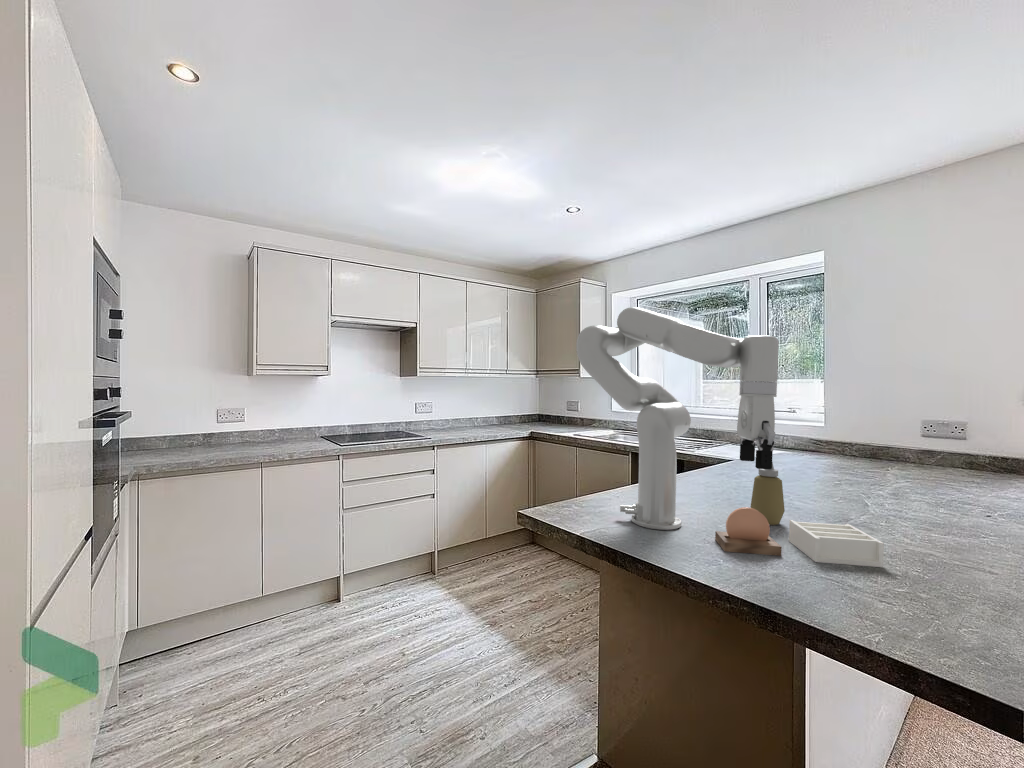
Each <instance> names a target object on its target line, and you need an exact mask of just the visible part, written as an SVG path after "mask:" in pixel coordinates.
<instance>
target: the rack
mask: <svg viewBox="0 0 1024 768" xmlns="http://www.w3.org/2000/svg"><path fill="white" fill-rule="evenodd" d="M788 525H789V528H788V529H789V530H788V531H789V532H788V533H789V534H788V541H789V542H790V543H791V544H792V545H793V546H795V547H796V548H798V550H800V551H801V552H802V553H803V554H805V555H806V556H807V557H808V558H810V559H811V560H812V561H813V562H814V563H824V564H838V565H847V566H849V565H851V566H862V567H872V568H873V567H875V568H884V556H885V555H884V550H885V547H884V546H885V543H884V542H882V541H880V540H879V539H877V538H876V537H873V536H872V535H870V534H868V533H866V532H864V531H863V530H860V529H859V528H857V527H856V526H854V525H851V524H850V523H845V524H837V523H836V524H835V523H823V522H820V523H819V522H809V521H808V522H805V521H795V520H792V519H789V524H788Z"/></svg>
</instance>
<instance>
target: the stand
mask: <svg viewBox="0 0 1024 768" xmlns="http://www.w3.org/2000/svg"><path fill="white" fill-rule="evenodd" d="M714 531H715V533H714V539H715V541H716V543H717V544H718V545H719V546H720V547H721V549H722V550H723V551H724V552H729V553H740V554H753V555H754V554H755V555H768V556H779V557H782V549H783V548H782V545H781V544H779V543H778V542H777V541H776V540H774V538H772V537H771V536H770V535H769V536H768V538H767V540H766V541H757V540H743V539H731V538H730V537H729V536H728V534H727V531H721V530H720V531H717V530H714Z"/></svg>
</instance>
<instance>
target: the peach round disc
mask: <svg viewBox="0 0 1024 768" xmlns="http://www.w3.org/2000/svg"><path fill="white" fill-rule="evenodd" d="M725 521H726V522H725V530H726V531H725V532H727V534H728V536H729V537H730V538H731V539H743V540H757V541H766V540H767V538H768V536H770V531H771V529H770V528H771V527H770V526H771V525H769V523H768V520H767V519H766V517H765V516H764V515H763V514H762V513H760V512H759V511H757V510H756V509H753V508H751V507H749V506H748V507H746V506H744V507H742V506H741V507H738V508H736V509H734V510H733V511H731V512H730V513H729V515H728V516H727V518H726V520H725Z"/></svg>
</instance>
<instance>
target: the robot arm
mask: <svg viewBox="0 0 1024 768" xmlns="http://www.w3.org/2000/svg"><path fill="white" fill-rule="evenodd" d="M616 325H617V326H616V327H610V326H604V325H598V324H597V325H596V324H594V325H589V326H587V327H584V328H583V329H582V330H581V331H580V332H579V334H578V336H577V339H576V355H577V358H578V361H579V363H580V365H581V366H582V367H583V369H584V370H585V371H586V372H587V374H588V375H590V377H591V378H592V379H593V380H594V381H595V382H596V383H598V384H599V386H600V387H601V388H602V389H603V390H604V392H606V393H607V395H609V396H610V397H611V398H612V400H614V401H615V402H616V403H617V405H618V406H620V407H621V408H622V409H624V410H625V411H630V412H633V411H634V412H639V413H638V415H637V418H636V433H637V441H638V491H637V492H638V494H637V496H638V497H637V501H635V504H631V505H627V504H620V505H619V512H620V513H625V514H626V515H631V521H632V523H634V524H635V525H637V526H639V527H642V528H646V529H652V530H659V531H663V530H664V531H665V530H666V531H669V530H677V529H678V528H679V529H680V528H681V527H682V520H681V519H680V518H679V517H677V516H676V509H677V508H676V507H677V505H676V504H677V503H676V499H677V472H678V471H677V467H678V466H677V460H678V458H677V457H678V456H677V446H676V442H675V438H677V437H680V436H682V435H684V434H686V433H687V431H689V429H690V427H691V422H692V419H691V414H690V412H689V411H688V409H687V408H686V406H684V405H683V404H682V402H680V401H679V400H678V399H677V398H676V397H675V396H674V395H673V394H672V393H671V392H669V391H668V390H667V388H665V387H664V386H662V384H660V383H659V382H658V381H656V380H654V379H652V378H650V377H642V376H641V377H640V376H637V375H635V374H633V373H632V372H631V371H629V370H628V369H627V368H626V367H625V366H624V365H623V364H622V363H621V362H619V360H617V359H616V358H614V357H617V356H621V355H623V354H626V353H628V352H630V351H632V350H633V349H636V348H638V347H640V346H642V345H644V344H647V345H650V346H652V347H656V348H658V349H661V350H664V351H666V352H669V353H673V354H674V355H678V356H680V357H683V358H686V359H689V360H691V361H694V362H696V363H697V362H698V363H700V364H703V365H705V366H710V367H715V368H723V369H733V368H740V370H739V371H740V372H739V393H738V394H739V395H738V396H740V400H739V404H738V405H739V406H738V414H737V424H736V425H737V426H736V434H737V435H738V436H739V438H740V439H739V443H740V444H739V460H740V461H741V462H755V469H758V470H759V469H772V462H773V452H774V445H775V438H776V431H775V427H776V417H775V415H776V413H775V412H776V410H775V398H777V396H778V395H777V394H778V371H779V370H778V368H779V365H778V364H779V349H780V348H779V347H780V346H779V339H778V338H777V337H776V336H774V335H765V334H763V335H762V334H761V335H757V334H756V335H755V334H754V335H747V336H745V337H744V338H743V337H741V338H739V337H733V336H729V335H726V334H719V333H717V332H712V331H710V330H705V329H703V328H700V327H696V326H693V325H690V324H686V323H684V322H683V321H682V320H681V319H679V318H675V317H672V316H670V315H669V316H668V315H666V314H661V313H659V312H658V313H657V312H655V311H652V310H648V309H645V308H641V307H638V306H637V307H636V306H631V307H630V306H629V307H626V308H625V309H623V310H622V311H621V312H620V313H619V314H618V315H617V320H616ZM754 443H756V444H754ZM756 446H757V449H756Z"/></svg>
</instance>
